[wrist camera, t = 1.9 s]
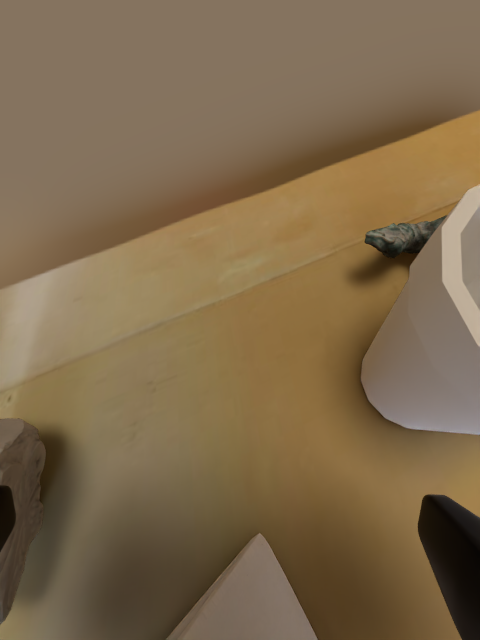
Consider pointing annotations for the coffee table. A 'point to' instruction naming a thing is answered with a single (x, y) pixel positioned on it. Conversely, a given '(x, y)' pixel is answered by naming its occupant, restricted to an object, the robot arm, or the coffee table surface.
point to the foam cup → (434, 333)
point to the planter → (247, 602)
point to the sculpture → (402, 237)
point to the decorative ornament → (19, 501)
